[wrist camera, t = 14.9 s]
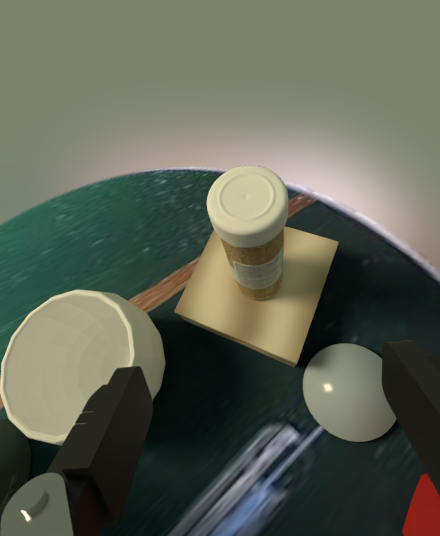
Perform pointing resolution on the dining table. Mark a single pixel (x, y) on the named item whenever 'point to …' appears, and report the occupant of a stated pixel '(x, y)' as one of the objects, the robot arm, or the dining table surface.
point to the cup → (74, 359)
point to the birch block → (260, 311)
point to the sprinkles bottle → (251, 227)
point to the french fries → (423, 510)
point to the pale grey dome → (348, 393)
